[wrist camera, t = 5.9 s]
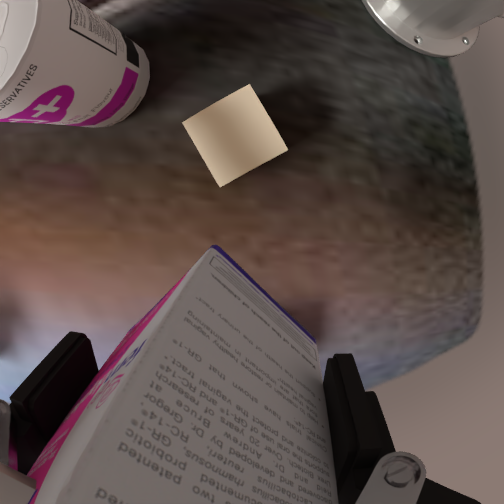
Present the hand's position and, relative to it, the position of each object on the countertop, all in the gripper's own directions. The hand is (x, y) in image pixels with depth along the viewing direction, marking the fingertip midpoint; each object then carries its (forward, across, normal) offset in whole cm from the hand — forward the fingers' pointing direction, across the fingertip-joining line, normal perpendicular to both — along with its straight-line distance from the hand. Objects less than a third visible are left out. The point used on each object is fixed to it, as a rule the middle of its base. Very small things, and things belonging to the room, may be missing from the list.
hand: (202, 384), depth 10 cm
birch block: (+18, 0, -8) cm, 20 cm away
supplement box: (+3, 0, 0) cm, 3 cm away
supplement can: (+18, +12, -14) cm, 25 cm away
